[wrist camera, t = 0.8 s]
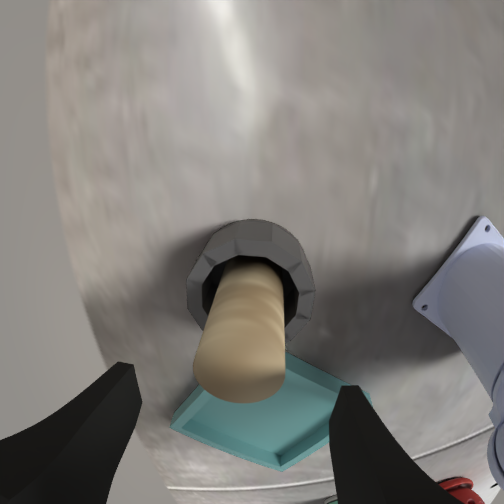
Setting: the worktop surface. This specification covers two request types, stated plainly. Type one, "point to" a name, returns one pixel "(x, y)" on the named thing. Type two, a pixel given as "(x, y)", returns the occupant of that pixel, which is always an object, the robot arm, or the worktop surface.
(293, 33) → the worktop surface
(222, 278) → the birch dowel
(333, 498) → the spray can
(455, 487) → the plant pot
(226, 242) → the dark gray cup
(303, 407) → the teal tray
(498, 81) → the worktop surface
